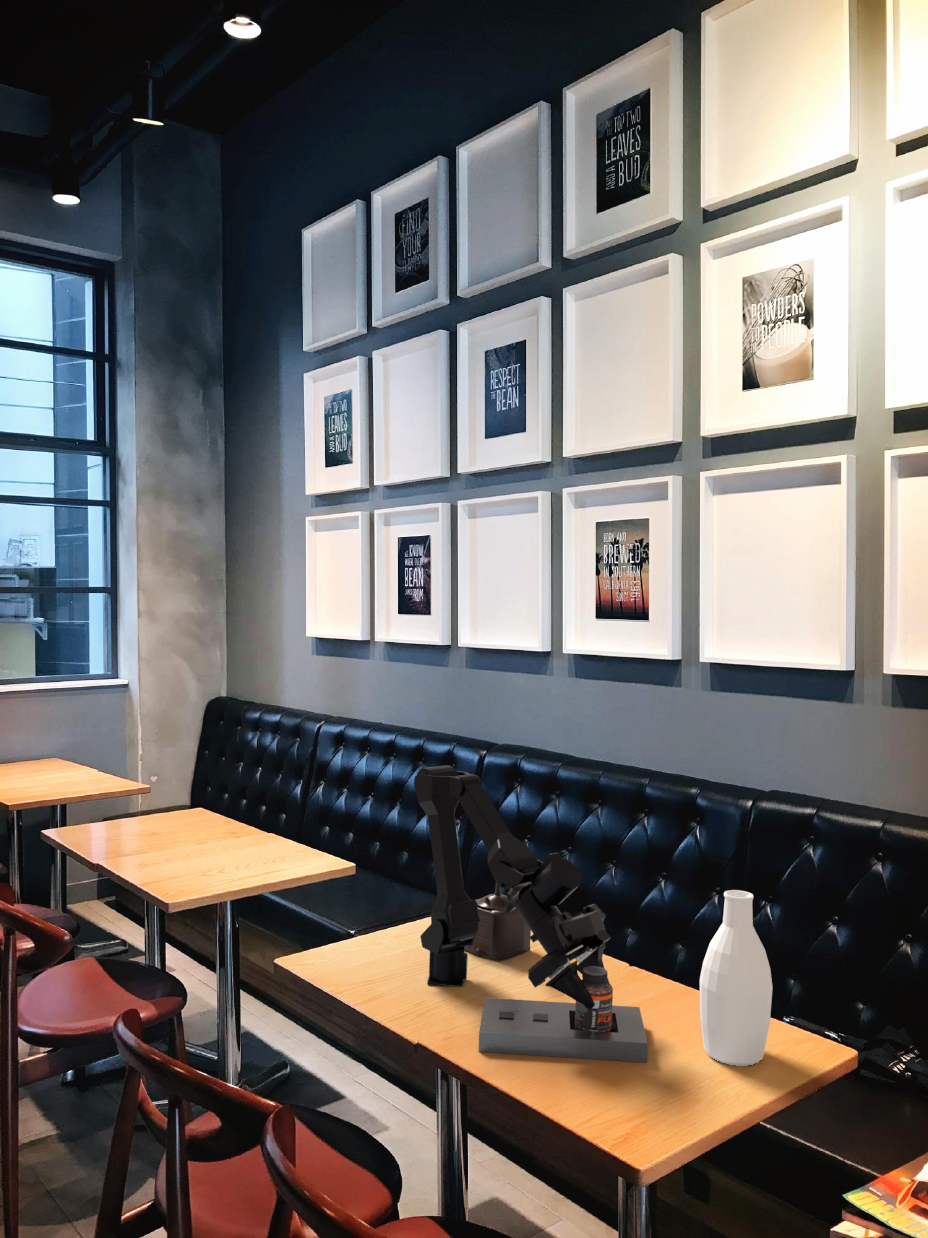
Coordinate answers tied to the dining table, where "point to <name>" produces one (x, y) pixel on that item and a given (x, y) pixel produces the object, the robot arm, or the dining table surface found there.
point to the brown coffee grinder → (499, 928)
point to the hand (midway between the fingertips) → (601, 1001)
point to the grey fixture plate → (559, 1031)
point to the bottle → (735, 987)
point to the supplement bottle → (602, 997)
